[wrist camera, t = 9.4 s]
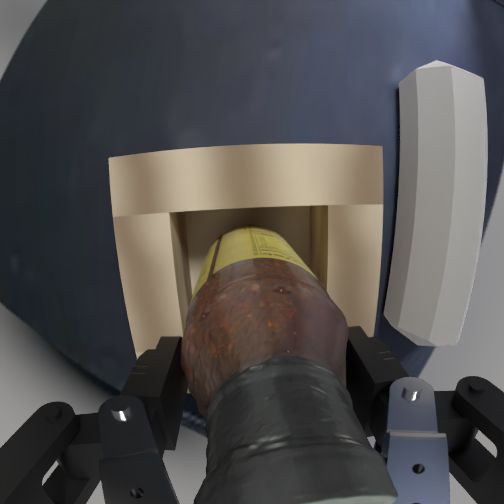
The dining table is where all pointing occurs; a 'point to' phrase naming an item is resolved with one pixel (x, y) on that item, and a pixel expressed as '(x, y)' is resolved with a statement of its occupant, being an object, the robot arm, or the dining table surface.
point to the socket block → (245, 222)
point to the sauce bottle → (274, 381)
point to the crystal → (438, 203)
